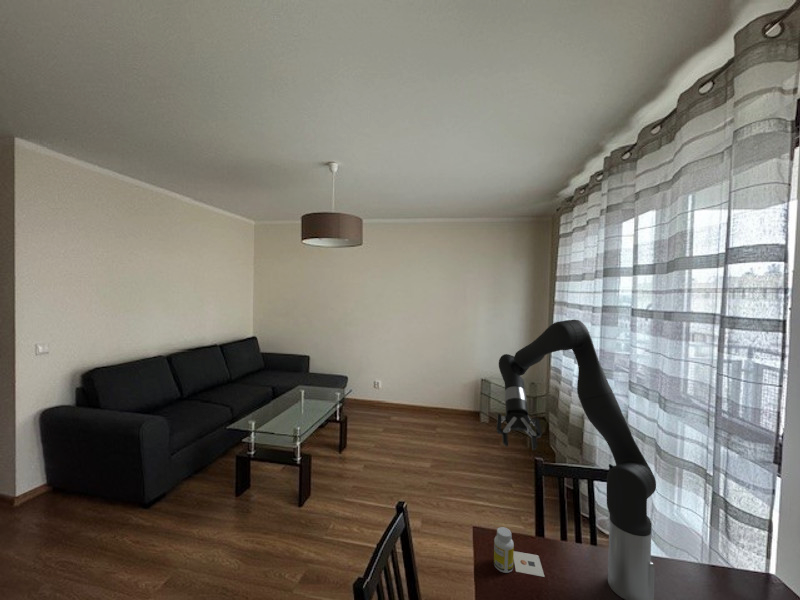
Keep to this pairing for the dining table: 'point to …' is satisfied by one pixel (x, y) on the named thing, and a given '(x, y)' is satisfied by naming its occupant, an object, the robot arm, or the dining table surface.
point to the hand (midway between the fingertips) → (520, 447)
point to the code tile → (528, 564)
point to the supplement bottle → (503, 550)
